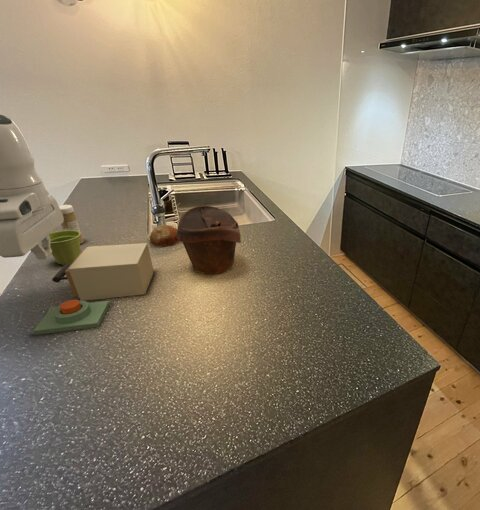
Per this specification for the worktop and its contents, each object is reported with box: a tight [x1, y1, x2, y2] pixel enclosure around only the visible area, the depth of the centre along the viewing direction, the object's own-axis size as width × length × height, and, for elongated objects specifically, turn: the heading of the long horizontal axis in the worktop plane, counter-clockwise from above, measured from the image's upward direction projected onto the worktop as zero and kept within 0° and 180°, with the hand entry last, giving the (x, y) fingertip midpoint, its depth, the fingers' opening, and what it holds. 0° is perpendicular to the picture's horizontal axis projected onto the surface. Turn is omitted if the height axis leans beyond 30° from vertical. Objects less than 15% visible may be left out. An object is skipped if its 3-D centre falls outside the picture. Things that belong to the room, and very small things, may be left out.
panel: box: [32, 299, 111, 336], centre depth 73 cm, size 12×9×3 cm
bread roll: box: [149, 224, 180, 247], centre depth 113 cm, size 10×10×8 cm
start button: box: [59, 299, 81, 314], centre depth 72 cm, size 4×4×2 cm
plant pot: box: [49, 229, 82, 266], centre depth 95 cm, size 9×9×9 cm
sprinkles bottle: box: [58, 204, 85, 245], centre depth 104 cm, size 5×5×14 cm
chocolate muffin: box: [176, 205, 242, 275], centre depth 97 cm, size 18×20×18 cm
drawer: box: [51, 250, 84, 298], centre depth 84 cm, size 18×12×8 cm, turn 109°
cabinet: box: [69, 242, 155, 302], centre depth 85 cm, size 15×13×10 cm
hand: (45, 256), depth 70 cm, fingers closed
